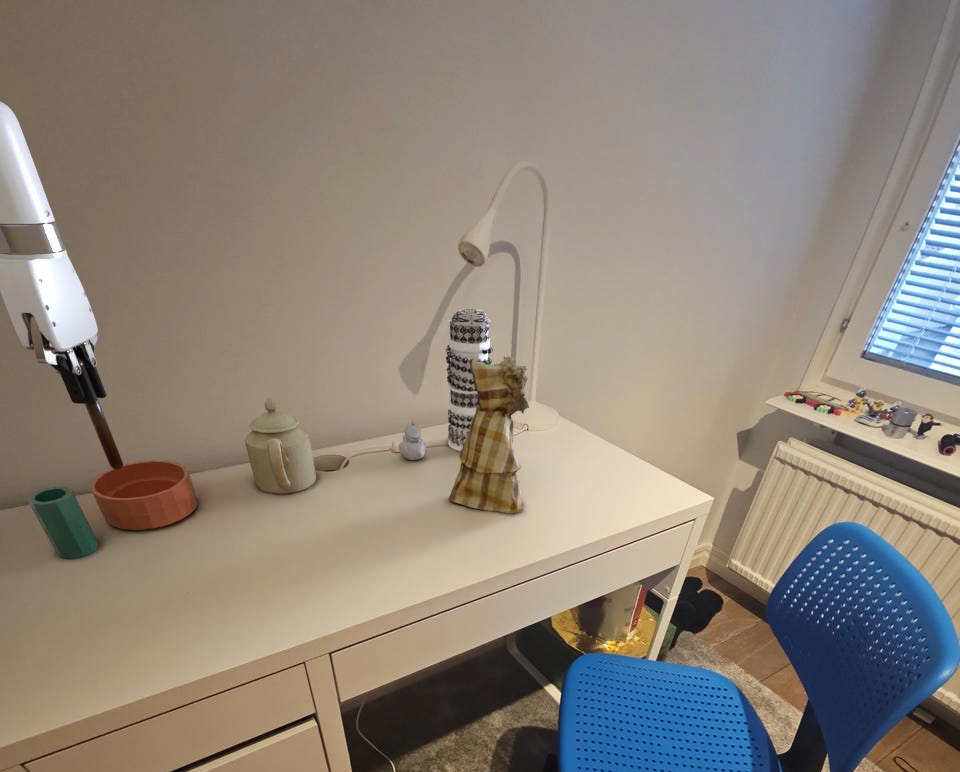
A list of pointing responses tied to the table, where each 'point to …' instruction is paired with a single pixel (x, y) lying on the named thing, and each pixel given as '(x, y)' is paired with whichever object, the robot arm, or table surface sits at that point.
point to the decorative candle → (465, 370)
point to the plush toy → (492, 440)
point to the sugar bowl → (280, 452)
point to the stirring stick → (102, 428)
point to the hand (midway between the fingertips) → (89, 399)
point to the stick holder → (63, 522)
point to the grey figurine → (412, 443)
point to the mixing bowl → (145, 494)
